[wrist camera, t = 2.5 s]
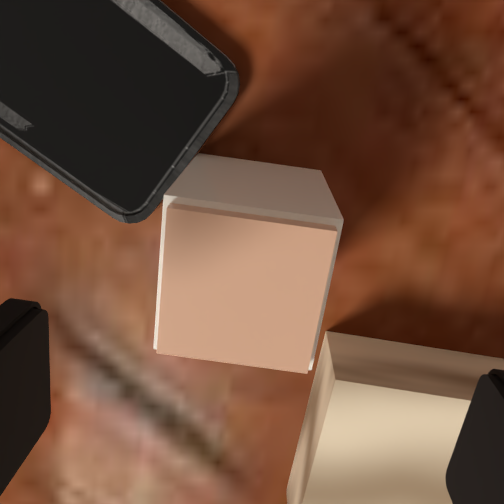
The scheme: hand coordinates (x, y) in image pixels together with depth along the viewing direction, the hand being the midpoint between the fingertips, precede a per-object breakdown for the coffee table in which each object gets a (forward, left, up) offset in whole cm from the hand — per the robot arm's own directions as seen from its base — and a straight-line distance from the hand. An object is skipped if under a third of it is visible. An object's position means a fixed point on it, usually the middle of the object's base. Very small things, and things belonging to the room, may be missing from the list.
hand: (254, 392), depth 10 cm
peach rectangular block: (0, -1, -11) cm, 11 cm away
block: (+10, +8, -11) cm, 17 cm away
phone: (-7, -10, -11) cm, 16 cm away
